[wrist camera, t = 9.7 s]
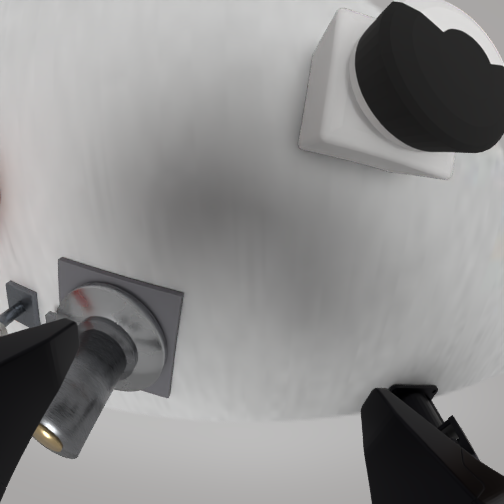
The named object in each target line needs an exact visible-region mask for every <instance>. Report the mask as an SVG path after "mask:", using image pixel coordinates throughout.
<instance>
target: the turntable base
mask: <svg viewBox="0 0 504 504" xmlns="http://www.w3.org/2000/svg"><path fill="white" fill-rule="evenodd" d="M58 281H59V301H60V303H61V301H62V300H63V299H64V298H65V297H66V296H67V295H68V294H69V293H70V292H71V291H73V290H74V289H75V288H77V287H78V286H80V285H83V284H86V283H92V282H99V283H106V284H110V285H113V286H116V287H118V288H121V289H122V290H124V291H126V292H128V293H129V294H131V295H133V296H134V297H135V298H137V299H138V300H139V301H140V302H141V303H142V304H143V305H144V306H145V307H146V308H147V309H148V310H149V311H150V312H151V313H152V315H153V316H154V317H155V319H156V320H157V322H158V324H159V326H160V327H161V329H162V332H163V334H164V337H165V341H166V347H167V356H166V361H165V364H164V366H163V369H162V371H161V373H160V376H159V377H158V379H157V380H156V381H155V382H154V383H153V384H152V385H151V386H149V387H147V388H145V389H143V390H142V391H145V392H148V393H152V394H155V395H158V396H162V397H165V398H169V396H170V389H171V380H172V372H173V364H174V356H175V348H176V341H177V334H178V327H179V320H180V313H181V307H182V300H183V294H184V293H181V292H177V291H174V290H170V289H166V288H162V287H159V286H155V285H152V284H148V283H144V282H141V281H137V280H134V279H130V278H127V277H123V276H120V275H117V274H113V273H110V272H107V271H103V270H100V269H97V268H94V267H91V266H87V265H84V264H81V263H78V262H75V261H72V260H69V259H66V258H63V257H62V258H60V259H58Z"/></svg>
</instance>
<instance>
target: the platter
mask: <svg viewBox="0 0 504 504" xmlns="http://www.w3.org/2000/svg"><path fill="white" fill-rule="evenodd" d="M90 316H101V317H105V318H108V319H110V320H112V321H114V322H116V323H117V324H119V325H120V326H121V327H122V328H123V329H125V330H126V332H127V333H128V334H129V335H130V336H131V338H132V339H133V341H134V343H135V345H136V348H137V351H138V361H137V364H136V366H135V368H134V370H133V372H132V374H131V375H130V376H129V377H128V378H126V379H124V380H120V381H118V382H117V384H116V386H115V388H114V389H115V390H119V391H139V390H143V389H145V388H147V387H149V386H151V385H152V384H153V383H154V382H155V381H156V380H157V379H158V377H159V376H160V373H161V371H162V369H163V366H164V364H165V361H166V356H167V347H166V341H165V337H164V334H163V332H162V329H161V327H160V326H159V324H158V322H157V320H156V319H155V317H154V316H153V315H152V313H151V312H150V311H149V310H148V309H147V308H146V307H145V306H144V305H143V304H142V303H141V302H140V301H139V300H138V299H137V298H135V297H134V296H133V295H131V294H129V293H128V292H126V291H124V290H122V289H121V288H118V287H116V286H113V285H110V284H106V283H99V282H92V283H86V284H83V285H80V286H78V287H77V288H75V289H74V290H73V291H71V292H70V293H69V294H68V295H67V296H66V297H65V298H64V299H63V300H62V301H61V303H60V305H59V307H58V310H57V314H56V313H54V312H51V311H49V312H48V313H47V314H46V315H45V317H46V323H49V322H52V321H55V320H59V319H62V318H68V319H70V320H73V321H75V322H76V323H77V325H79V324H80V323H81V322H82V321H83V320H84V319H86V318H87V317H90Z"/></svg>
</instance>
